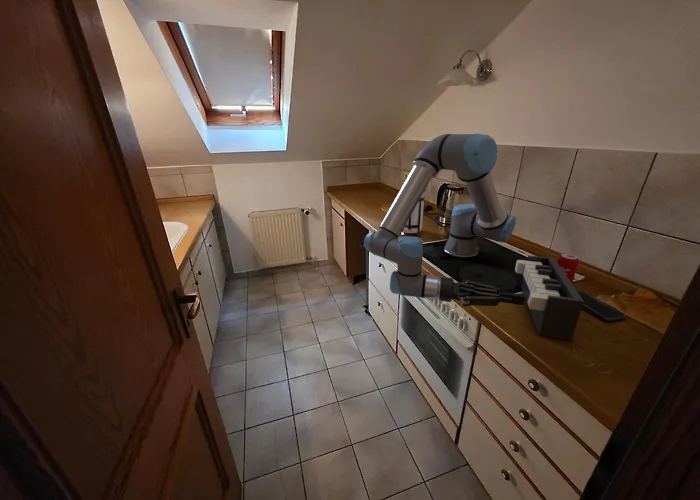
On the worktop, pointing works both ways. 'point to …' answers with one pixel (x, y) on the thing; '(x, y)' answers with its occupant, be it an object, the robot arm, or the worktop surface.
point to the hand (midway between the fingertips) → (523, 299)
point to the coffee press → (415, 219)
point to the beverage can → (568, 264)
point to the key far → (521, 264)
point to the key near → (537, 301)
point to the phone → (600, 308)
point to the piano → (552, 298)
